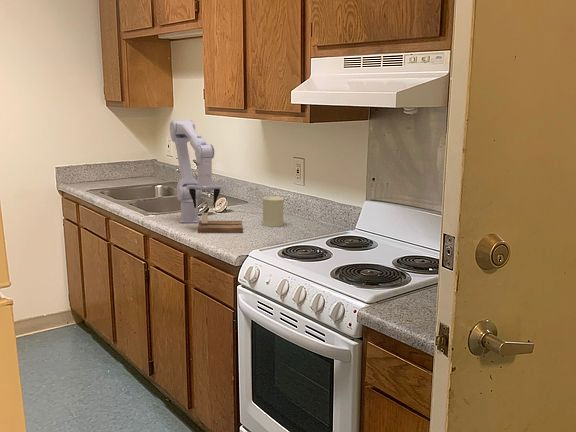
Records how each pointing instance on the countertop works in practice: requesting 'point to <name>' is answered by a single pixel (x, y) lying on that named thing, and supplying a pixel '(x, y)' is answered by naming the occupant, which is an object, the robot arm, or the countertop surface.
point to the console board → (221, 227)
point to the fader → (204, 218)
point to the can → (273, 211)
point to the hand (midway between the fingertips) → (204, 207)
